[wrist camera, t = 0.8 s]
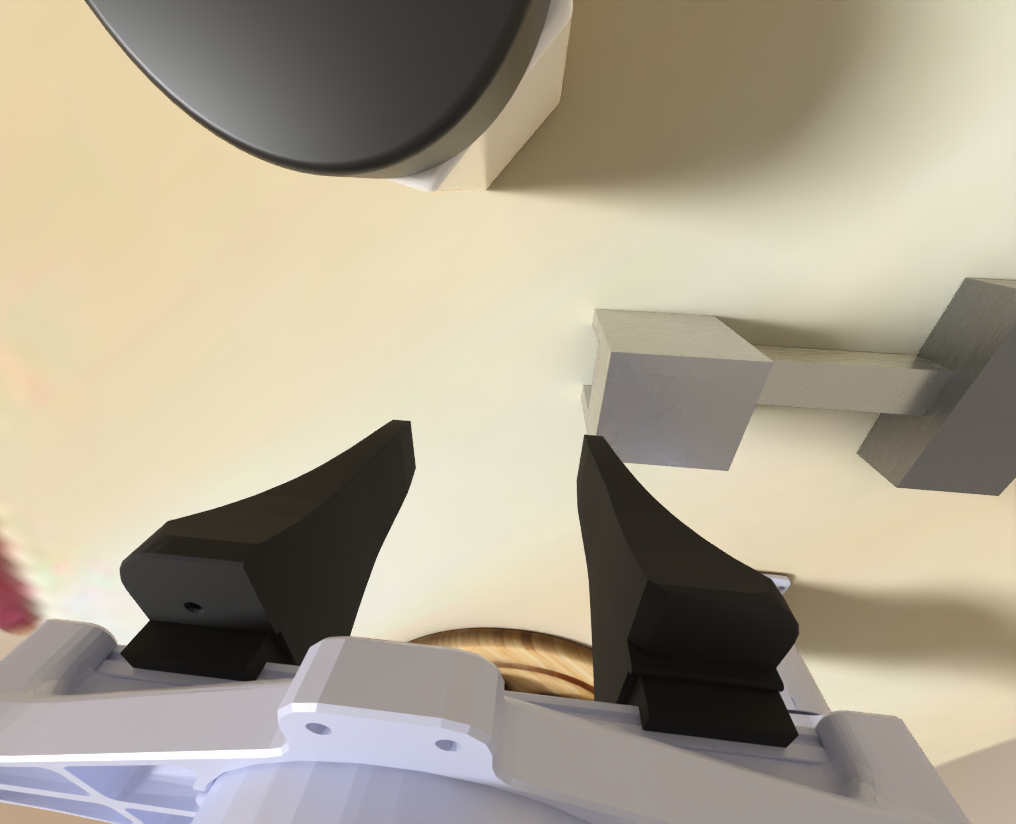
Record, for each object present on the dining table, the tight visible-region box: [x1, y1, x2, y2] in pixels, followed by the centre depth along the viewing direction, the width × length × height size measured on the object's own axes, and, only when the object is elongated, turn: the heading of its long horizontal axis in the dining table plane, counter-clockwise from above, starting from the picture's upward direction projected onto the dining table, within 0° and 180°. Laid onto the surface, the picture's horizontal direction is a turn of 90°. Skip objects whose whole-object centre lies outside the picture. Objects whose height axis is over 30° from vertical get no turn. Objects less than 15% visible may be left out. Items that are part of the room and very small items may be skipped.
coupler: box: [752, 278, 1016, 496], centre depth 19 cm, size 10×14×3 cm
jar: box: [85, 0, 573, 193], centre depth 10 cm, size 9×8×12 cm
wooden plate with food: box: [408, 628, 594, 701], centre depth 40 cm, size 32×32×8 cm
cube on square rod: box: [581, 309, 774, 471], centre depth 18 cm, size 5×6×6 cm
